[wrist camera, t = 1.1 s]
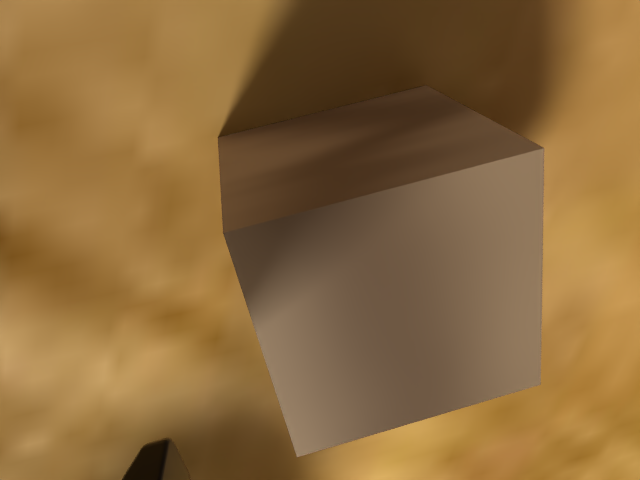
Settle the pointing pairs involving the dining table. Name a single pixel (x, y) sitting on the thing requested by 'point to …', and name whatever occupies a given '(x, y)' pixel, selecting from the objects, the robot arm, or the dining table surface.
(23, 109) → the dining table surface
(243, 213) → the cube
